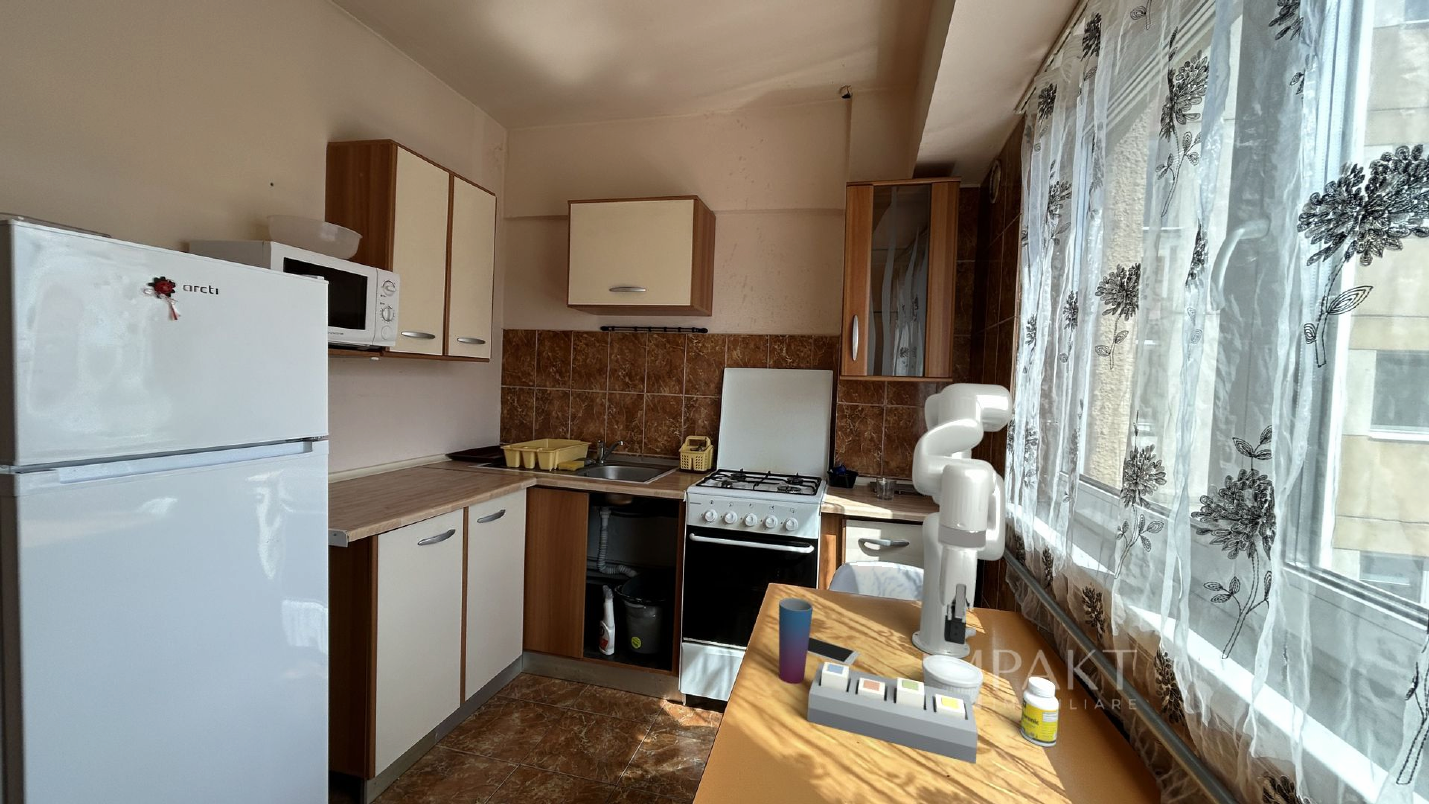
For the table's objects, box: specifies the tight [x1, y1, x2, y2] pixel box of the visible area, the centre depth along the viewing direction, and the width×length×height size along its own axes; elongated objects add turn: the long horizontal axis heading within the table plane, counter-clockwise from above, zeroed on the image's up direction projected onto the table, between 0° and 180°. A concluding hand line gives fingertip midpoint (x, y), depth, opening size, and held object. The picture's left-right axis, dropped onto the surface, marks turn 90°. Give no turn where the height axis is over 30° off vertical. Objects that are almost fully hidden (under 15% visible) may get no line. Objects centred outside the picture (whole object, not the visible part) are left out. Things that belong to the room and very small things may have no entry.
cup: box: [778, 597, 814, 685], centre depth 112 cm, size 7×7×15 cm
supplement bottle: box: [1020, 676, 1060, 748], centre depth 96 cm, size 5×5×10 cm
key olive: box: [896, 676, 925, 710], centre depth 97 cm, size 4×4×3 cm
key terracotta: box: [858, 678, 885, 701], centre depth 99 cm, size 4×4×3 cm
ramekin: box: [921, 654, 984, 705], centre depth 109 cm, size 11×11×5 cm
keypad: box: [807, 662, 979, 765], centre depth 98 cm, size 27×12×5 cm, turn 71°
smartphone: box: [807, 636, 861, 667], centre depth 125 cm, size 8×1×15 cm
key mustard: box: [935, 694, 965, 719], centre depth 95 cm, size 4×4×3 cm
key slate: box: [821, 661, 850, 692], centre depth 102 cm, size 4×4×3 cm
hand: (954, 640), depth 95 cm, fingers closed
